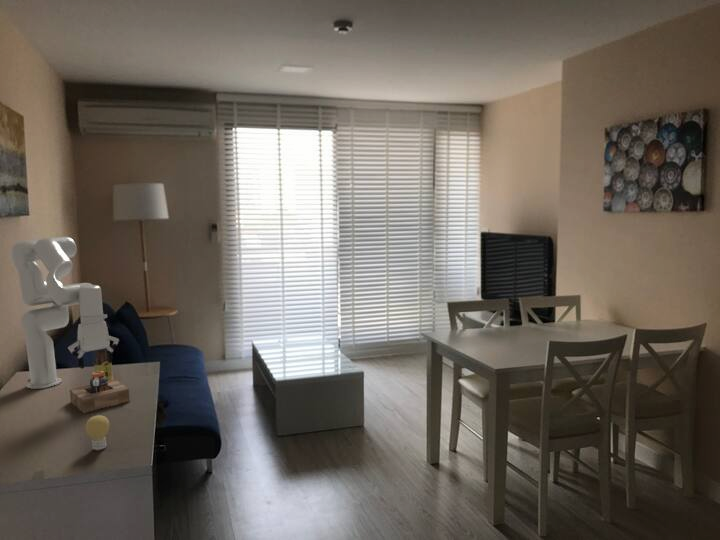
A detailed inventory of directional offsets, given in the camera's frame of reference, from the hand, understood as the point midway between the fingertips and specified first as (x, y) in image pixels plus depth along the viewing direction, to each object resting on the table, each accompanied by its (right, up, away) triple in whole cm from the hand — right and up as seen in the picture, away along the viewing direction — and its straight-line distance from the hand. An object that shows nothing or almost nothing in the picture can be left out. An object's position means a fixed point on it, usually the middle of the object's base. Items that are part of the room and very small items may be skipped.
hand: (95, 365), depth 209 cm
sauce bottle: (-4, -13, +16) cm, 21 cm away
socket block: (+1, -14, +1) cm, 14 cm away
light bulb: (+20, -18, -40) cm, 49 cm away
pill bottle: (+1, -14, +1) cm, 14 cm away
